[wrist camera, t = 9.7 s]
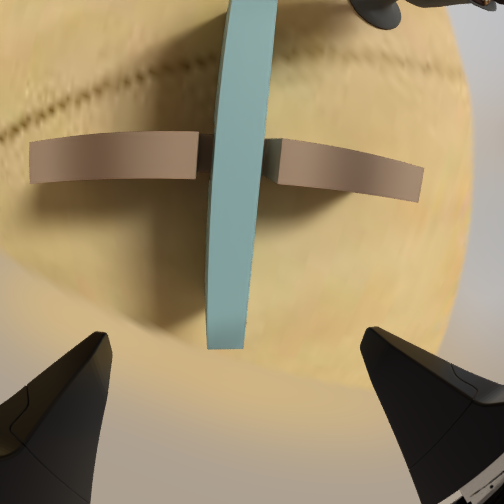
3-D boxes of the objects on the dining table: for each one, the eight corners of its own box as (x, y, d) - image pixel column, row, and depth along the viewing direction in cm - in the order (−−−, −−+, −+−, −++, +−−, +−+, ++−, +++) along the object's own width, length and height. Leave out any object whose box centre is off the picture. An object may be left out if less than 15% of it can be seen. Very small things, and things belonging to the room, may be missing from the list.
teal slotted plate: (232, 294, 20) (243, 348, 15) (204, 294, 20) (207, 349, 15) (257, 14, 13) (280, -29, 8) (226, 11, 13) (238, -36, 7)
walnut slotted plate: (368, 156, 18) (424, 168, 13) (365, 183, 19) (418, 202, 13) (78, 139, 14) (29, 142, 9) (78, 168, 15) (30, 183, 10)
